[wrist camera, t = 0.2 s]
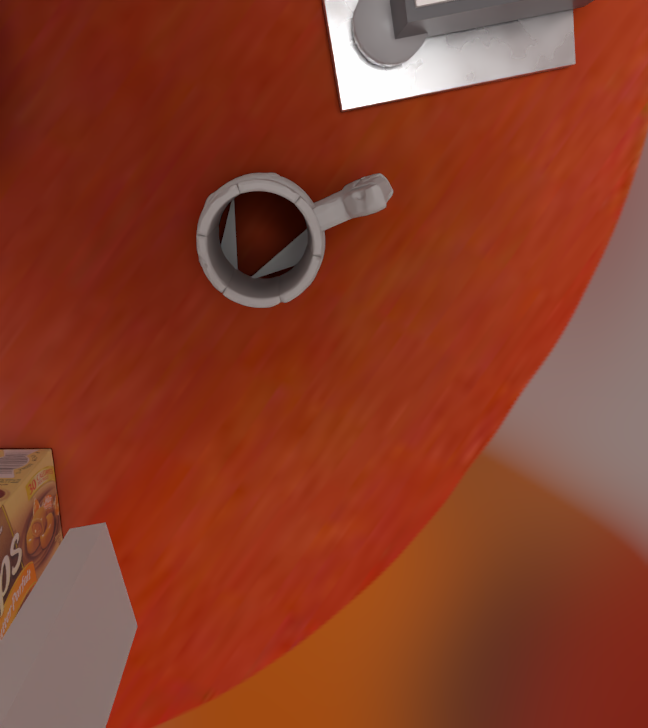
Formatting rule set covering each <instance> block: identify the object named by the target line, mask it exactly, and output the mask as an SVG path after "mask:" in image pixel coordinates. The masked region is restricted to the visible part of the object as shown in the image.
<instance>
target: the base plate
mask: <svg viewBox="0 0 648 728" xmlns="http://www.w3.org/2000/svg"><path fill="white" fill-rule="evenodd" d="M358 1H359V0H322V4H323V10H324V16H325V22H326V28H327V33H328V39H329V45H330V51H331V57H332V63H333V69H334V75H335V81H336V87H337V93H338V99H339V105H340V111H341V112H345V111H350V110H355V109H360V108H366V107H371V106H376V105H381V104H386V103H391V102H396V101H401V100H406V99H411V98H416V97H421V96H426V95H431V94H436V93H441V92H446V91H451V90H456V89H461V88H466V87H471V86H476V85H481V84H486V83H491V82H496V81H501V80H506V79H511V78H516V77H521V76H526V75H531V74H536V73H541V72H546V71H551V70H556V69H561V68H566V67H569V66H571V65H574V64H575V44H574V23H573V9H569V10H564V11H559V12H554V13H549V14H544V15H539V16H534V17H529V18H524V19H519V20H513V21H508V22H503V23H498V24H493V25H488V26H483V27H478V28H473V29H468V30H462V31H457V32H452V33H447V34H442V35H437V36H432V37H427V38H426V39H425V41H424V43H423V45H422V46H421V47H420V49H419V50H418V51H417V52H416V53H415V54H414V55H413V56H412V57H411V58H410V59H409V60H407V61H406V62H404V63H402V64H400V65H397V66H393V67H383V66H379V65H376V64H374V63H372V62H370V61H369V60H367V59H366V58H365V57H364V56H363V55H362V54H361V52H360V51H359V49H358V48H357V45H356V43H355V40H354V37H353V32H352V19H353V14H354V10H355V8H356V5H357V3H358Z"/></svg>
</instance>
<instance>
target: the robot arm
mask: <svg viewBox="0 0 648 728" xmlns="http://www.w3.org/2000/svg"><path fill="white" fill-rule="evenodd" d="M136 629H137V623H136V620H135V616H134V613H133V610H132V607H131V603H130V600H129V597H128V594H127V590H126V587H125V584H124V581H123V577H122V574H121V571H120V568H119V564H118V561H117V558H116V555H115V552H114V548H113V545H112V542H111V539H110V535H109V532H108V529H107V526H106V522H105V523H100V524H94V525H89V526H83V527H77V528H72V529H69V531H68V532H67V534H66V535H65V537H64V539H63V540H62V542H61V544H60V545H59V547H58V548H57V550H56V552H55V553H54V555H53V557H52V558H51V560H50V562H49V563H48V565H47V566H46V568H45V570H44V571H43V573H42V575H41V576H40V578H39V579H38V581H37V583H36V584H35V586H34V588H33V589H32V591H31V592H30V594H29V596H28V597H27V599H26V601H25V602H24V604H23V606H22V607H21V609H20V610H19V612H18V614H17V615H16V617H15V619H14V620H13V622H12V623H11V625H10V627H9V628H8V630H7V632H6V633H5V635H4V636H3V638H2V640H1V641H0V728H105V727H106V724H107V721H108V718H109V715H110V711H111V708H112V705H113V702H114V699H115V696H116V692H117V689H118V686H119V683H120V680H121V677H122V673H123V670H124V667H125V664H126V661H127V658H128V654H129V651H130V648H131V645H132V642H133V639H134V635H135V632H136Z"/></svg>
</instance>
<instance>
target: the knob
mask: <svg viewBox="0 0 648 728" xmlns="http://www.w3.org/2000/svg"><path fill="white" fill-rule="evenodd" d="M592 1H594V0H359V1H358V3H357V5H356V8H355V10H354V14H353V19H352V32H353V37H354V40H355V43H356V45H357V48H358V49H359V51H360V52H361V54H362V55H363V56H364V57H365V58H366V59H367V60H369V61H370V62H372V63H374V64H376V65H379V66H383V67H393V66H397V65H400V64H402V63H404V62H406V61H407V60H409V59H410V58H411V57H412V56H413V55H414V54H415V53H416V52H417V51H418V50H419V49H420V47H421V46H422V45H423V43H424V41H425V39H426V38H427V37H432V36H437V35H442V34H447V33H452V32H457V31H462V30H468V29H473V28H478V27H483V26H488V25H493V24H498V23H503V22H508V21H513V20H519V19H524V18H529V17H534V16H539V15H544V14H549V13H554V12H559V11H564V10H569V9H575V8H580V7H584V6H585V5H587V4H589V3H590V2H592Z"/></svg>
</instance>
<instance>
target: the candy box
mask: <svg viewBox="0 0 648 728" xmlns="http://www.w3.org/2000/svg"><path fill="white" fill-rule="evenodd" d="M62 540H63V538H62V529H61V522H60V514H59V503H58V496H57V489H56V480H55V472H54V464H53V457H52V450H51V449H0V641H1V640H2V638H3V636H4V635H5V633H6V632H7V630H8V628H9V627H10V625H11V623H12V622H13V620H14V619H15V617H16V615H17V614H18V612H19V610H20V609H21V607H22V606H23V604H24V602H25V601H26V599H27V597H28V596H29V594H30V592H31V591H32V589H33V588H34V586H35V584H36V583H37V581H38V579H39V578H40V576H41V575H42V573H43V571H44V570H45V568H46V566H47V565H48V563H49V562H50V560H51V558H52V557H53V555H54V553H55V552H56V550H57V548H58V547H59V545H60V544H61V542H62Z"/></svg>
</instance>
